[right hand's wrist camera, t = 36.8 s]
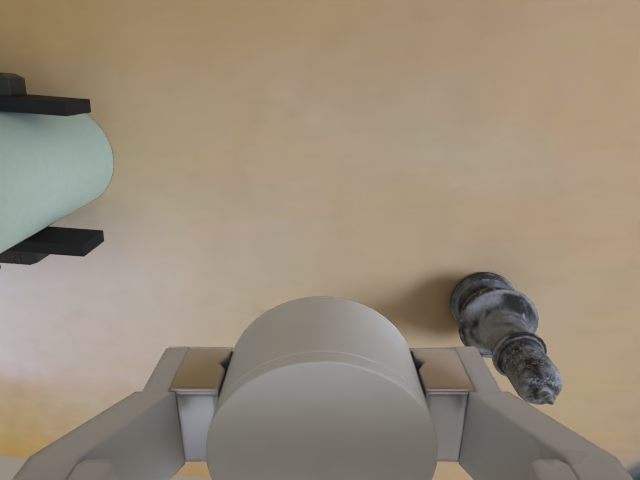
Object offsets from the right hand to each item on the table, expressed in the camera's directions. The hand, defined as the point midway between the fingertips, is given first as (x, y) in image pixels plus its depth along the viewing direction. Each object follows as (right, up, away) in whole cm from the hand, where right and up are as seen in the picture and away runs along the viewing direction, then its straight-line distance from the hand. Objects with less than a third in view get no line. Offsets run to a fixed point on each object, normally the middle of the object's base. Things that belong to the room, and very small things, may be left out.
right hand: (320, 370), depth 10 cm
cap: (0, -1, -2) cm, 2 cm away
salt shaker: (+13, -2, +26) cm, 30 cm away
